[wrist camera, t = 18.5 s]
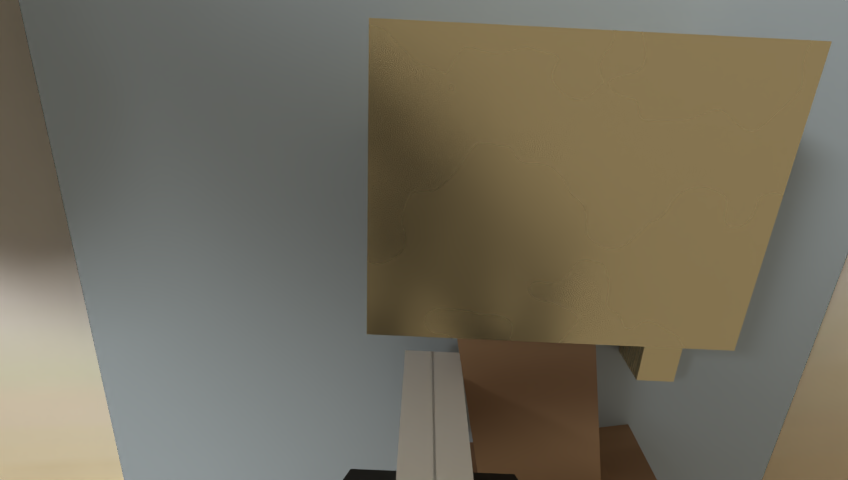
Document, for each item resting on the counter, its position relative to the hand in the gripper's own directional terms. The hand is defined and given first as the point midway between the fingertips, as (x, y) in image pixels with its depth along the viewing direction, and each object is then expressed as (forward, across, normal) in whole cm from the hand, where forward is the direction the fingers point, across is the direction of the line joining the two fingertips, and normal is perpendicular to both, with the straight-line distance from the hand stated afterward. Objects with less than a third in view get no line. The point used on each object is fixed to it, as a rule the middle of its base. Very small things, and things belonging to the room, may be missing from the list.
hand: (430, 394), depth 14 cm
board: (+3, +1, 0) cm, 3 cm away
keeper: (+1, +3, +5) cm, 6 cm away
